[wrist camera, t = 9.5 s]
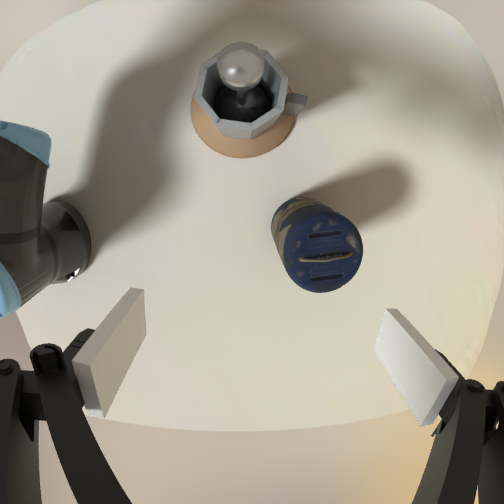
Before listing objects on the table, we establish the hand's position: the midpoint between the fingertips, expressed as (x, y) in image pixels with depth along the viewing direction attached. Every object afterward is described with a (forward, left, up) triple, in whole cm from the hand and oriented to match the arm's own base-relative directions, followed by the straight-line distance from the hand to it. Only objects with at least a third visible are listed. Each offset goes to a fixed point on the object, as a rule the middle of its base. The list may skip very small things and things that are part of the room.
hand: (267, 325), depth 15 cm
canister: (+8, 0, -34) cm, 35 cm away
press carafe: (-4, +17, -34) cm, 38 cm away
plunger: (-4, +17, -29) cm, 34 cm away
